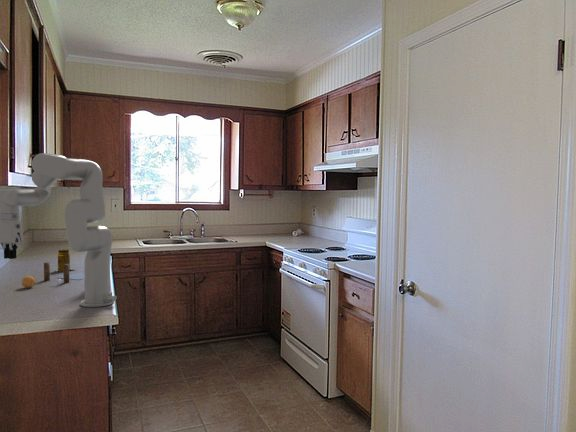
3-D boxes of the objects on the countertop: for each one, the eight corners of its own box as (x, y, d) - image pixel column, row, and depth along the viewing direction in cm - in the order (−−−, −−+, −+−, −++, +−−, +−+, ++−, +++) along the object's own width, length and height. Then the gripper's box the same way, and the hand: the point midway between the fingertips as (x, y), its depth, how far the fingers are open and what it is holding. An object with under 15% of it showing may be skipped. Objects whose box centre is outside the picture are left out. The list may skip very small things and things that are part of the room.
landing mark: (98, 275, 239) (98, 275, 239) (78, 280, 225) (78, 279, 225) (78, 273, 243) (78, 273, 243) (57, 277, 230) (57, 277, 230)
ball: (38, 287, 208) (37, 275, 207) (27, 289, 202) (27, 277, 202) (29, 286, 209) (29, 274, 209) (18, 288, 204) (18, 276, 204)
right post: (70, 282, 220) (70, 264, 219) (66, 283, 217) (66, 265, 217) (66, 281, 221) (66, 263, 220) (62, 282, 218) (62, 264, 218)
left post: (51, 280, 224) (50, 262, 223) (46, 281, 221) (46, 263, 221) (47, 279, 225) (46, 262, 224) (42, 280, 222) (42, 262, 222)
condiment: (54, 271, 249) (54, 250, 248) (67, 269, 257) (67, 248, 256) (63, 272, 246) (63, 251, 245) (76, 270, 254) (76, 249, 253)
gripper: (30, 217, 197) (31, 258, 198) (4, 216, 202) (4, 256, 203) (15, 218, 190) (16, 260, 191) (-12, 216, 195) (-11, 258, 196)
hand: (10, 258), depth 197 cm, fingers closed
